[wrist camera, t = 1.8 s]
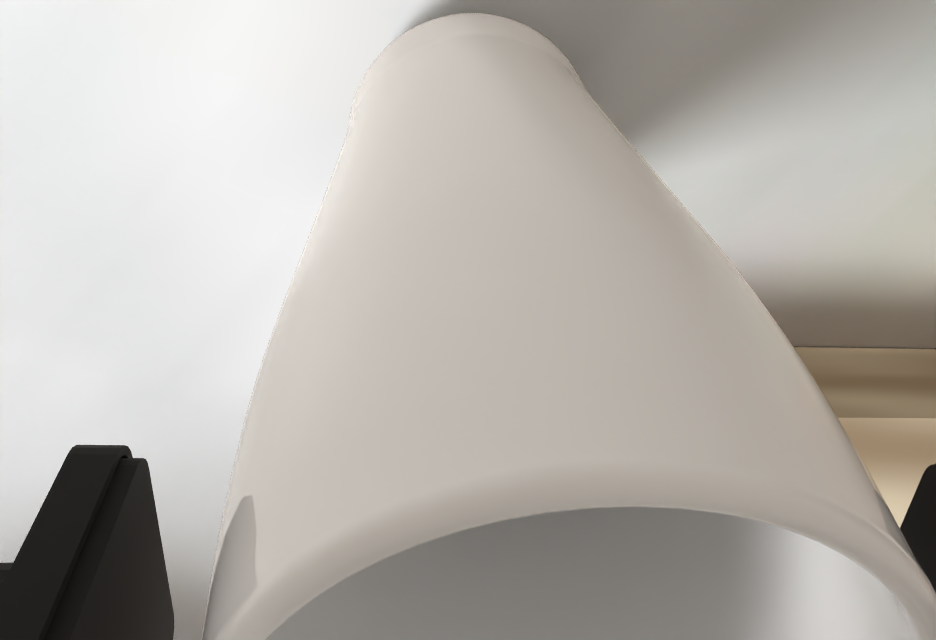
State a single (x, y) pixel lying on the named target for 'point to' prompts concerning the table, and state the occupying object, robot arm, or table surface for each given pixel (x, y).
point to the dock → (883, 411)
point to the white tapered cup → (536, 396)
